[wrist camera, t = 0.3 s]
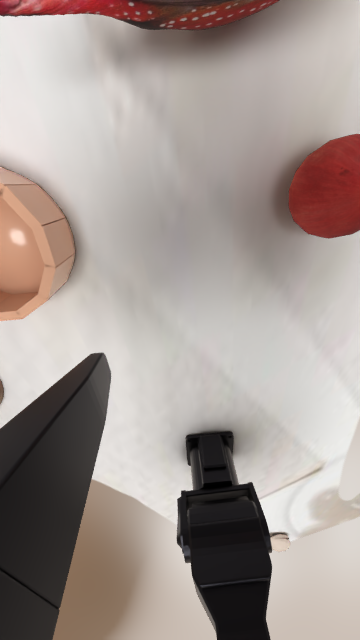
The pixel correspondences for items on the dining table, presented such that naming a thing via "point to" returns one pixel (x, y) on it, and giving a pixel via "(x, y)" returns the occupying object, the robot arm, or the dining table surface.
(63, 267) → the bowl
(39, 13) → the decorative bird figurine
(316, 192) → the onion
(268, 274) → the dining table surface
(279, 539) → the beige oval flat piece
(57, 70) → the dining table surface
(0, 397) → the lid
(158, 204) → the dining table surface
